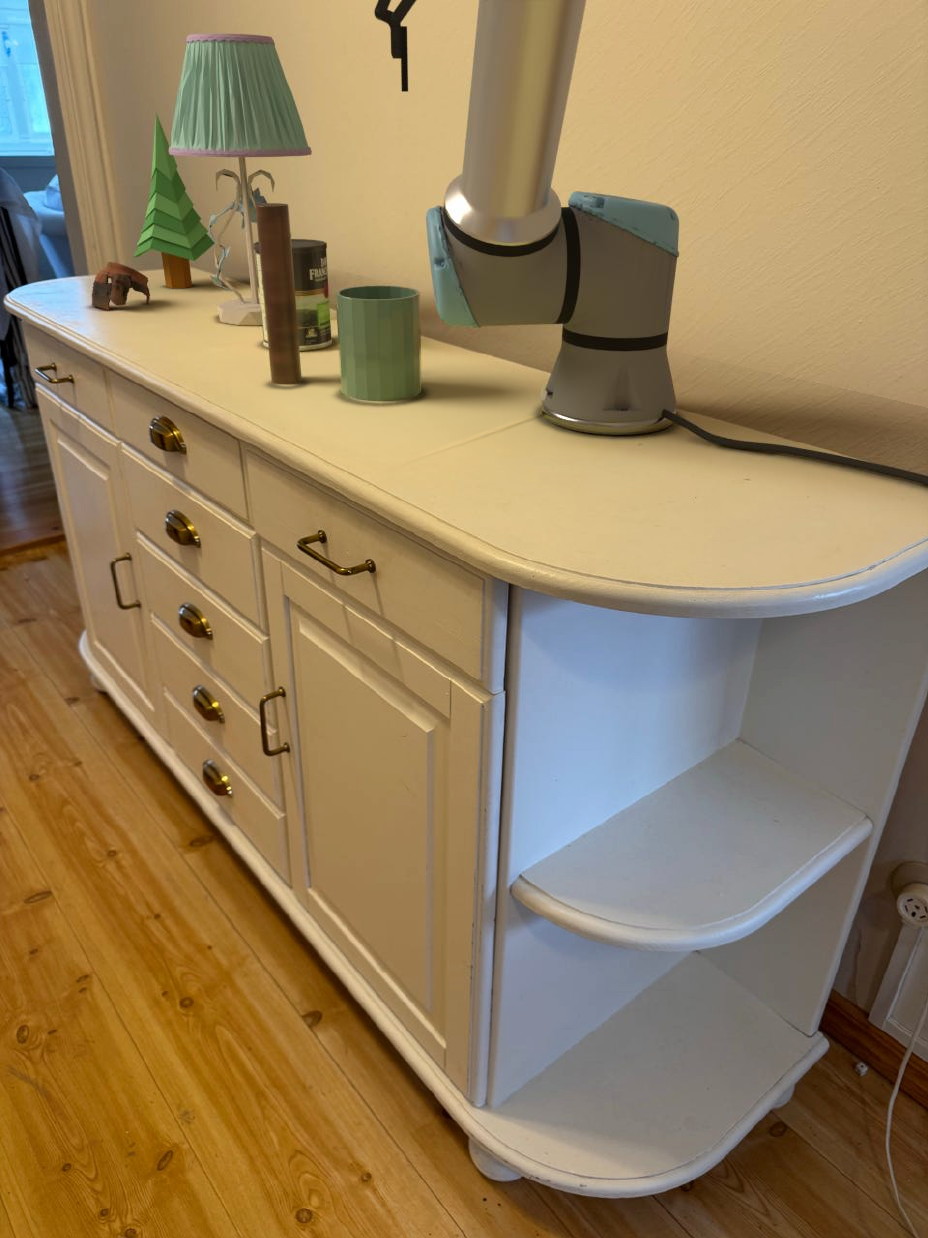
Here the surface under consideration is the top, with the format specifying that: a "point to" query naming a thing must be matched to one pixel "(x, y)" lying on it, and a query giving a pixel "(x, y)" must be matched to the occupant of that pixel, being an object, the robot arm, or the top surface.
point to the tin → (379, 342)
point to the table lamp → (236, 131)
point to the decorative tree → (171, 218)
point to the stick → (279, 292)
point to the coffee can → (306, 293)
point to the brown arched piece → (117, 285)
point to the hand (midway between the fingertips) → (461, 92)
